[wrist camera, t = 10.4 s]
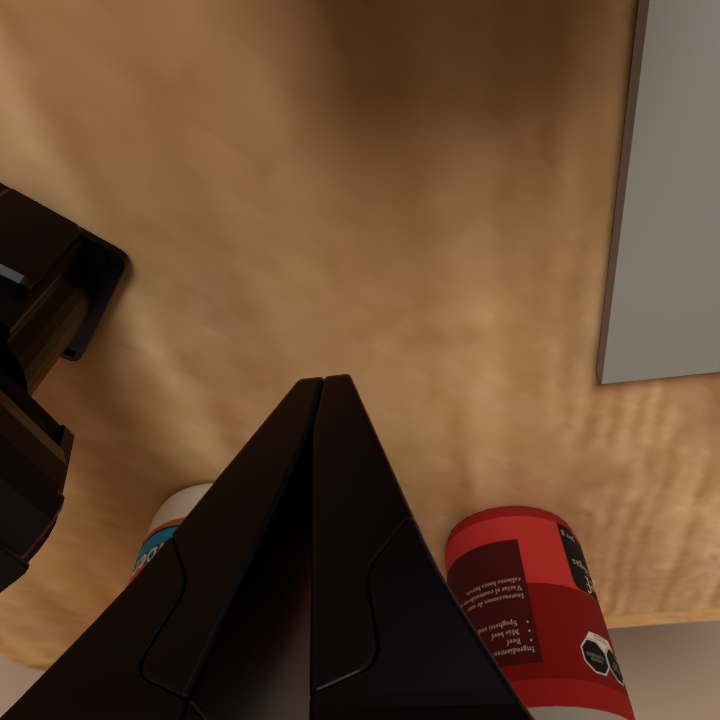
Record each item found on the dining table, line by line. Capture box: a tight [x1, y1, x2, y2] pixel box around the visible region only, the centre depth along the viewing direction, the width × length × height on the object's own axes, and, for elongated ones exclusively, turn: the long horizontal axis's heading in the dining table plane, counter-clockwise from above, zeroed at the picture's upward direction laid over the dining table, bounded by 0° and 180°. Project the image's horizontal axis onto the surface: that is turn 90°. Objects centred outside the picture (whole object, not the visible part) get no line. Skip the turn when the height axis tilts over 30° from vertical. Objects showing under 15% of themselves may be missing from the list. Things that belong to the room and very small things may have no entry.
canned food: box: [445, 506, 635, 720], centre depth 30 cm, size 8×8×11 cm
